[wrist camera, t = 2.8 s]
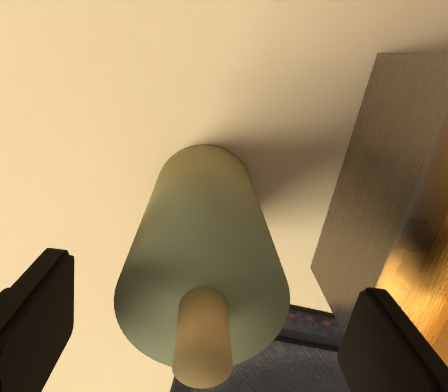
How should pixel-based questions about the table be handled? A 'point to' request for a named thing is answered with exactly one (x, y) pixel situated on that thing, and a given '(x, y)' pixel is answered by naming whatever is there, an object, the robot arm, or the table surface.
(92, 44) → the table surface
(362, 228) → the box
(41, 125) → the table surface
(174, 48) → the table surface
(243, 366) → the dark grey flat slab
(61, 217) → the table surface
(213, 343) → the spout can
